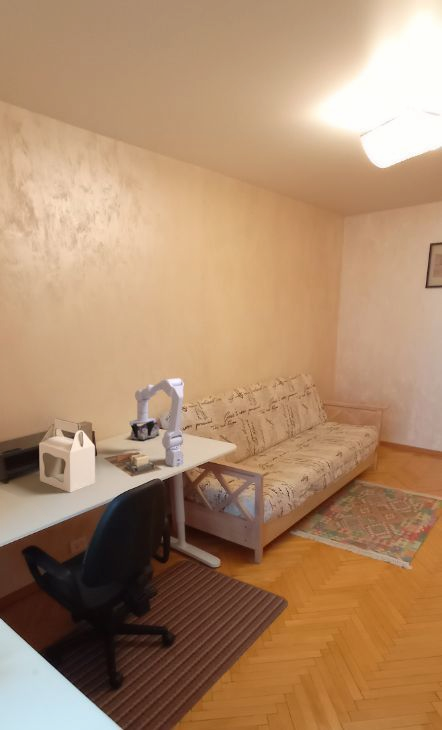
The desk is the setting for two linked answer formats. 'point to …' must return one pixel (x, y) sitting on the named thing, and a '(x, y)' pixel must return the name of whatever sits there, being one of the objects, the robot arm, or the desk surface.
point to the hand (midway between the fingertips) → (142, 436)
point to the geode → (145, 432)
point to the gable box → (67, 457)
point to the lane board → (132, 466)
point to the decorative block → (85, 429)
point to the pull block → (134, 459)
